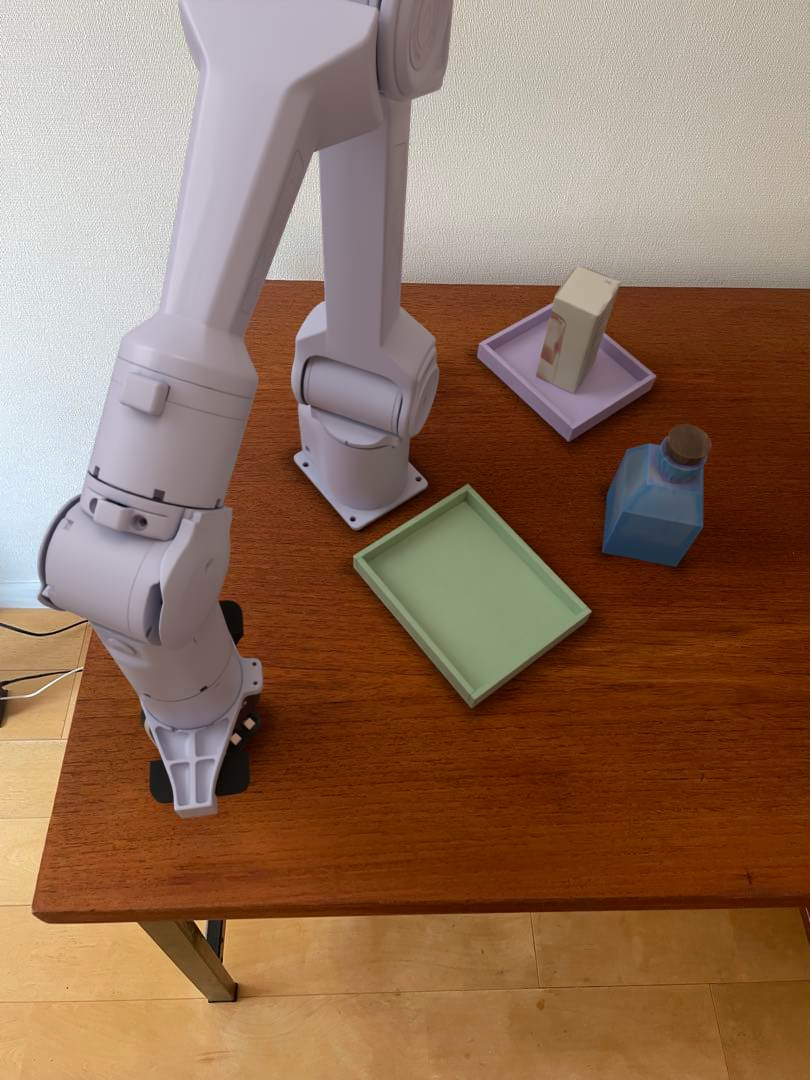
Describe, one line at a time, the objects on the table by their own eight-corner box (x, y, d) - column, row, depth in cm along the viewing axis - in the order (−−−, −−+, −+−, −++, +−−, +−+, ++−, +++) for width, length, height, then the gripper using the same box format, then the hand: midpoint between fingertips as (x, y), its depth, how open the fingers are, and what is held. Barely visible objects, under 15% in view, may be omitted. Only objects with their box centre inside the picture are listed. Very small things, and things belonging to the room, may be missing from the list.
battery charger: (208, 802, 55) (175, 754, 45) (169, 768, 56) (128, 713, 46) (277, 725, 58) (260, 664, 48) (239, 694, 59) (215, 628, 49)
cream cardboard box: (555, 344, 79) (578, 261, 70) (595, 362, 78) (624, 280, 69) (531, 377, 76) (552, 295, 68) (573, 396, 75) (600, 315, 67)
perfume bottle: (676, 566, 67) (733, 482, 56) (602, 552, 67) (645, 466, 57) (677, 506, 70) (731, 417, 60) (607, 493, 70) (648, 401, 60)
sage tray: (353, 567, 65) (352, 555, 64) (465, 496, 69) (467, 483, 68) (471, 709, 59) (474, 700, 58) (586, 621, 64) (592, 611, 62)
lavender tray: (476, 357, 78) (479, 342, 76) (558, 311, 82) (562, 297, 80) (568, 442, 73) (573, 429, 71) (650, 389, 77) (657, 375, 75)
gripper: (259, 776, 39) (283, 833, 51) (247, 528, 47) (270, 627, 58) (112, 795, 38) (170, 849, 50) (123, 540, 46) (171, 638, 57)
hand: (216, 731), depth 54 cm, fingers open, 7 cm apart
